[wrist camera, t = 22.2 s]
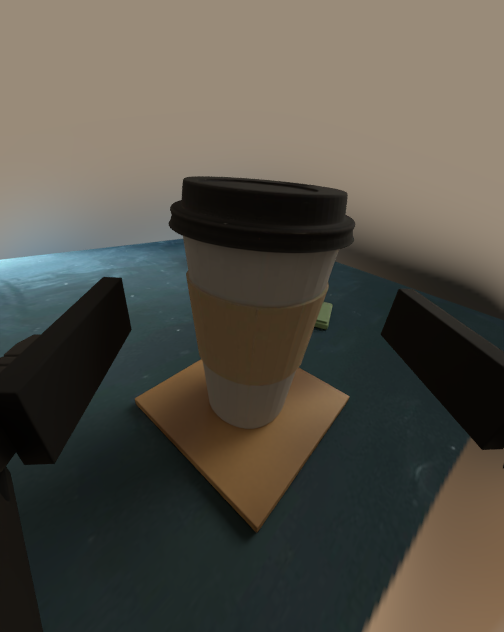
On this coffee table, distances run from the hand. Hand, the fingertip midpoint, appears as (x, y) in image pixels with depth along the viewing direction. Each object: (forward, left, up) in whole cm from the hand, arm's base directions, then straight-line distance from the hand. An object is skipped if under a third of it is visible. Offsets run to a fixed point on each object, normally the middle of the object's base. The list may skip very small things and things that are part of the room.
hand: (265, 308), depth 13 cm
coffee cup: (+2, -2, -10) cm, 10 cm away
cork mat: (+2, -2, -10) cm, 11 cm away
